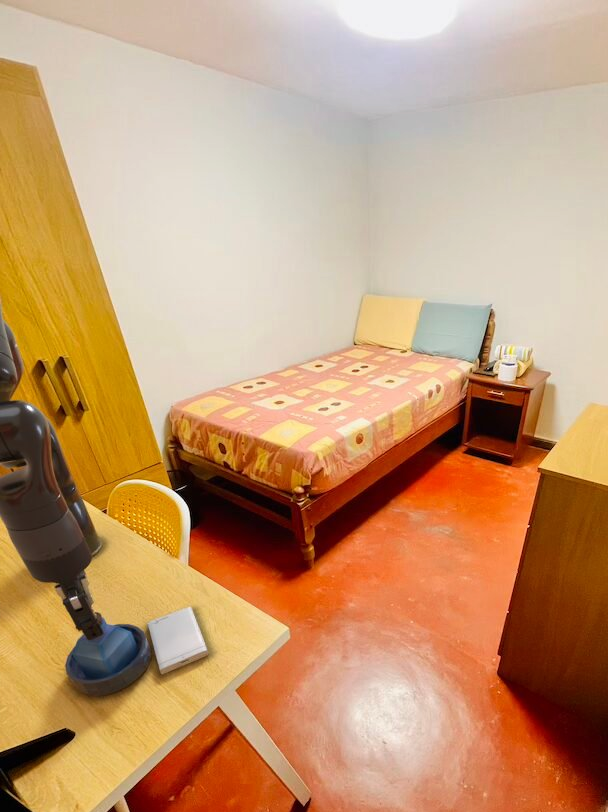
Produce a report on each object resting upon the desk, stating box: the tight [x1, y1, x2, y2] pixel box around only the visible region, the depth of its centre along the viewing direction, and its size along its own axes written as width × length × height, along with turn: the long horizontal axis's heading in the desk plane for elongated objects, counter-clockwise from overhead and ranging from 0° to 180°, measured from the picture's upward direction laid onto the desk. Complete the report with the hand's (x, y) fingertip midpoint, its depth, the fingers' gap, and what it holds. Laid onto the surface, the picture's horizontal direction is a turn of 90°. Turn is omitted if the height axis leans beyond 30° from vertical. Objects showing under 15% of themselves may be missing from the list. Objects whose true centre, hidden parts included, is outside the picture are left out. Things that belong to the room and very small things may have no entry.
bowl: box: [64, 623, 152, 697], centre depth 75 cm, size 12×12×4 cm
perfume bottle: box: [72, 611, 140, 679], centre depth 72 cm, size 6×6×12 cm
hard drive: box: [147, 606, 209, 675], centre depth 80 cm, size 2×8×12 cm
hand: (91, 619), depth 69 cm, fingers open, 8 cm apart
